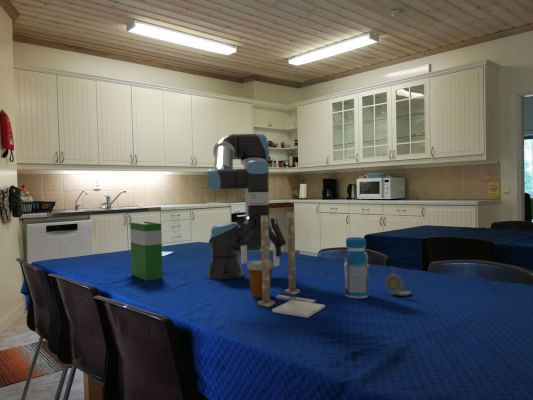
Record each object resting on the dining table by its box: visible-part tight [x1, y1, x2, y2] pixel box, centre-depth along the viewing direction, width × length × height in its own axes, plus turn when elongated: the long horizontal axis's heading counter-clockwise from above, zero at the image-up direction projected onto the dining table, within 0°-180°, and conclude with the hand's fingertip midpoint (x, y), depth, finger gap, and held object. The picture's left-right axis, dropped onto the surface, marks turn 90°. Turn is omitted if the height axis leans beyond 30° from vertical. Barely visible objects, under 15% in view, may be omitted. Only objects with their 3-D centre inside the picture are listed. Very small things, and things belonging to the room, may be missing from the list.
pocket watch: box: [385, 266, 412, 297], centre depth 143 cm, size 8×8×10 cm
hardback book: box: [129, 221, 164, 282], centre depth 184 cm, size 18×7×24 cm, turn 38°
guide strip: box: [275, 294, 317, 303], centre depth 137 cm, size 14×4×1 cm, turn 58°
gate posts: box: [257, 211, 301, 308], centre depth 141 cm, size 4×22×29 cm, turn 148°
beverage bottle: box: [343, 236, 370, 299], centre depth 142 cm, size 8×8×20 cm
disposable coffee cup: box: [246, 259, 274, 299], centre depth 146 cm, size 10×10×12 cm
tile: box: [271, 300, 326, 318], centre depth 127 cm, size 12×12×1 cm
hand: (259, 264), depth 145 cm, fingers open, 13 cm apart
